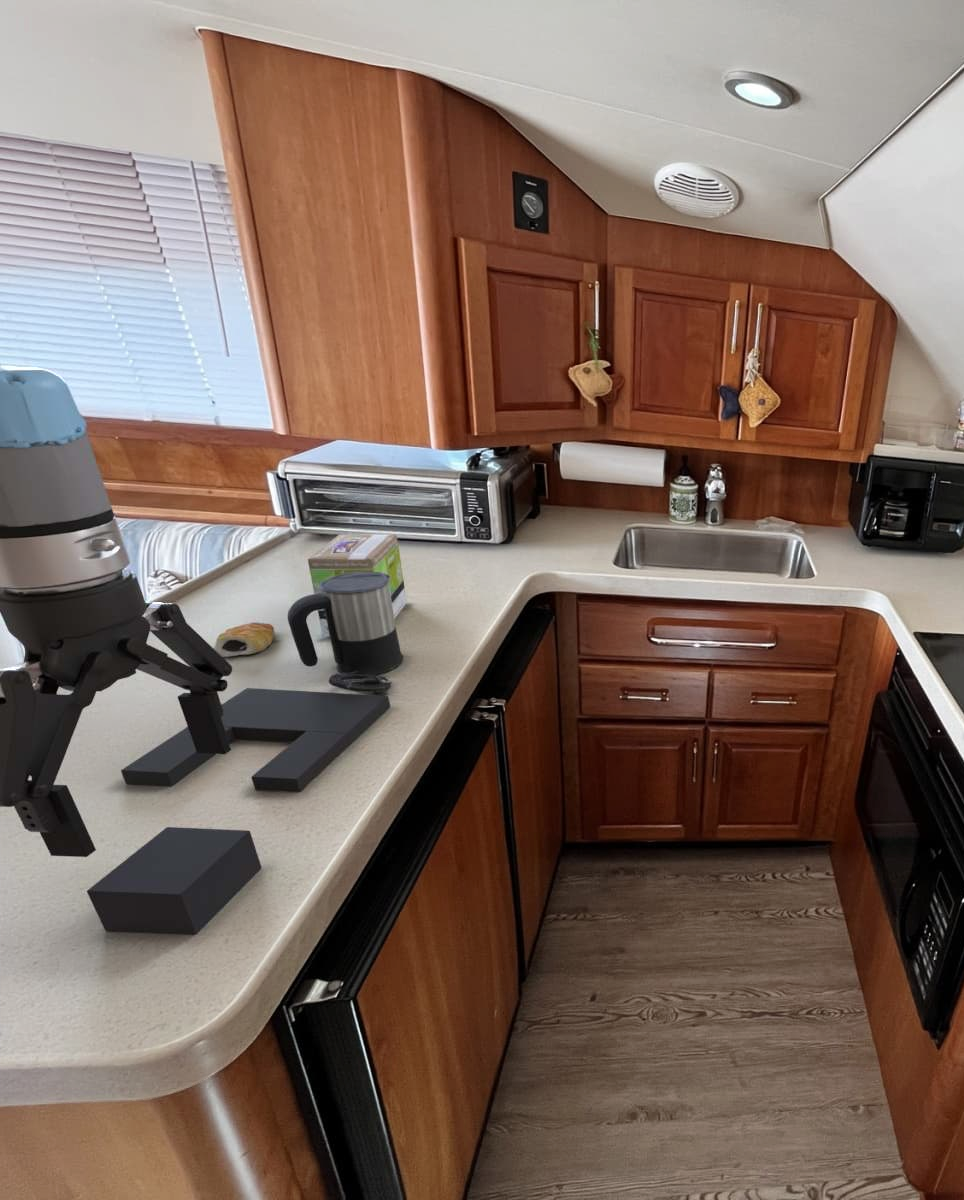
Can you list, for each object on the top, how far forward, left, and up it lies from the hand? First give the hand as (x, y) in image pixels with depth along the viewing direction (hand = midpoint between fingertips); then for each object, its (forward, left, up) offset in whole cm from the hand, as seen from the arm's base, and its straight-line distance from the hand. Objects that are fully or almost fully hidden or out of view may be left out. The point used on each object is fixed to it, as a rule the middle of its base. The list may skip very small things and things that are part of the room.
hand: (151, 796), depth 57 cm
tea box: (-20, +63, -13) cm, 67 cm away
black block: (0, 0, -12) cm, 12 cm away
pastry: (-32, +50, -13) cm, 61 cm away
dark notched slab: (-10, +25, -12) cm, 30 cm away
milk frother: (-8, +43, -13) cm, 45 cm away
